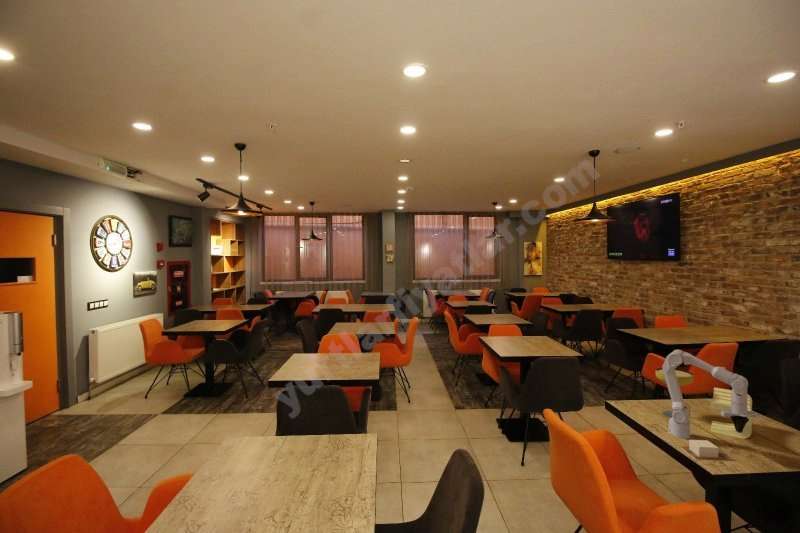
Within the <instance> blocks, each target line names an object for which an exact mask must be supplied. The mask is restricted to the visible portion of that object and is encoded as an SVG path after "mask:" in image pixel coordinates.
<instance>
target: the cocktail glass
mask: <svg viewBox="0 0 800 533" xmlns="http://www.w3.org/2000/svg"><path fill="white" fill-rule="evenodd" d="M675 373H676V376H677V380H678V383H679V387H680V388H681V387H684V386H688V385H690V384H693V382H694V377H695V376H694V374H693V373H692V372H690V371H687V370H684V369H679V368H675ZM655 377H656V379H658V380H659V381H660V382H662V383H664V384H665V385H667V383H666V379H665V376H664V372H663V369H662V367H660V368H657V369H656V370H655ZM672 412H673V410H672V409H671V410H665V411H662V415H664V416H666V417H668V418H672Z"/></svg>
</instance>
